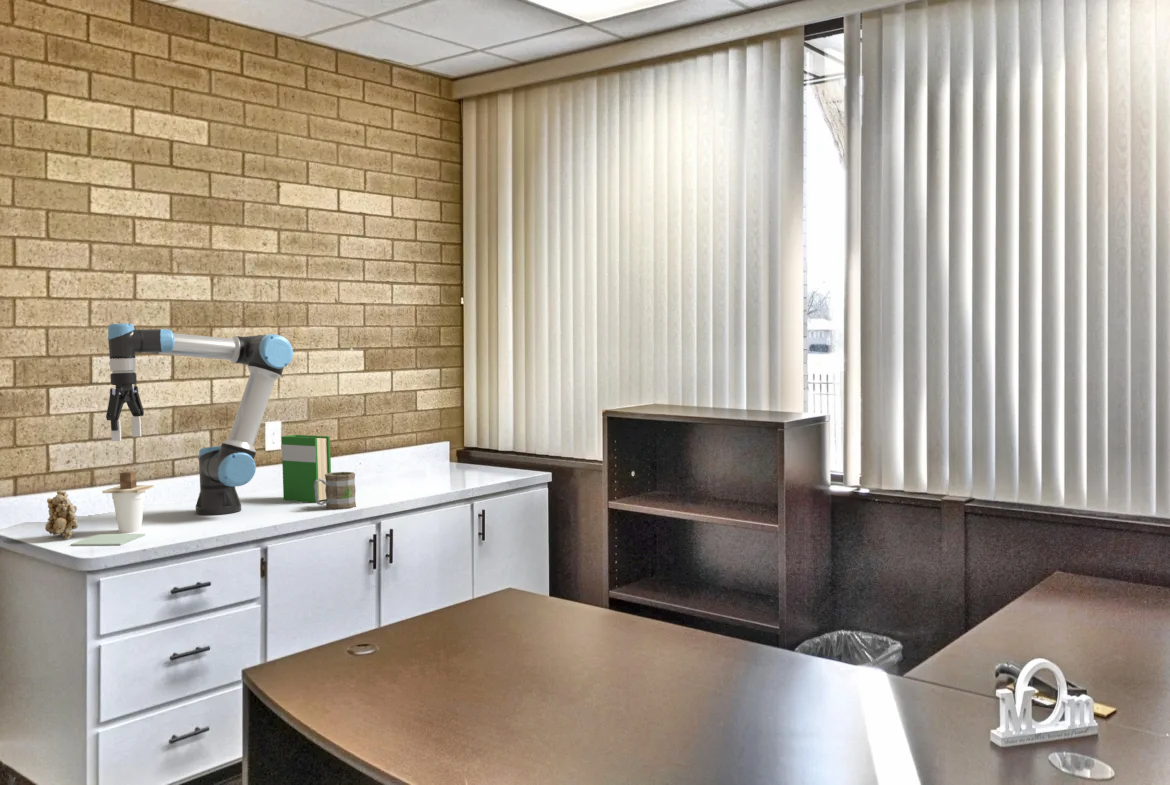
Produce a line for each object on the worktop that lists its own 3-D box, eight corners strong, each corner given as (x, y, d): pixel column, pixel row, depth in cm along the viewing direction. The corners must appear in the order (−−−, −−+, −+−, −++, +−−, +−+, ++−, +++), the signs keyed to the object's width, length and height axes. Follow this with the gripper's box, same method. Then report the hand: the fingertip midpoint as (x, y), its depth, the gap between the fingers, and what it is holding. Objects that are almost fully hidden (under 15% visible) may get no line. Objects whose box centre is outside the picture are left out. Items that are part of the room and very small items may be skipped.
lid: (153, 487, 318) (153, 469, 317) (137, 492, 307) (136, 474, 306) (120, 488, 318) (119, 470, 318) (102, 493, 307) (101, 474, 307)
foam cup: (133, 534, 307) (131, 492, 307) (107, 533, 309) (105, 492, 308) (152, 528, 317) (151, 488, 316) (127, 527, 318) (125, 488, 318)
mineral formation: (68, 533, 311) (66, 486, 310) (87, 538, 302) (85, 489, 302) (41, 537, 305) (39, 489, 304) (59, 542, 296) (57, 493, 295)
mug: (345, 503, 360) (344, 471, 359) (362, 506, 353) (361, 473, 352) (307, 509, 349) (306, 475, 348) (323, 512, 341) (322, 478, 341)
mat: (145, 535, 305) (145, 533, 305) (120, 545, 290) (120, 543, 290) (97, 535, 306) (97, 534, 306) (70, 545, 291) (70, 544, 291)
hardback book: (331, 500, 369) (329, 436, 368) (317, 503, 363) (315, 438, 361) (298, 497, 378) (296, 434, 377) (283, 499, 372) (281, 436, 370)
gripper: (129, 371, 325) (133, 435, 326) (91, 374, 300) (95, 443, 301) (152, 370, 325) (155, 434, 326) (115, 373, 300) (119, 442, 301)
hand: (126, 438), depth 314 cm, fingers open, 13 cm apart
